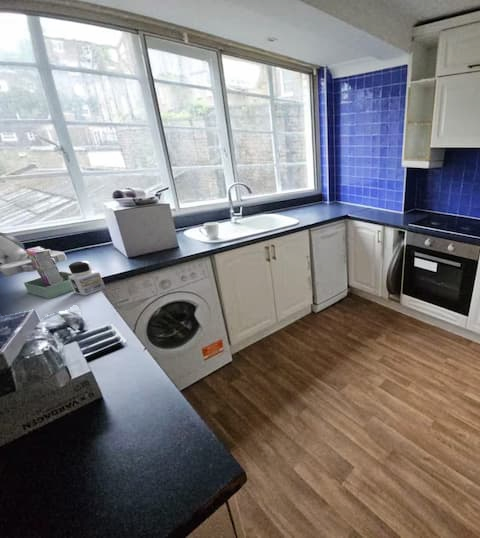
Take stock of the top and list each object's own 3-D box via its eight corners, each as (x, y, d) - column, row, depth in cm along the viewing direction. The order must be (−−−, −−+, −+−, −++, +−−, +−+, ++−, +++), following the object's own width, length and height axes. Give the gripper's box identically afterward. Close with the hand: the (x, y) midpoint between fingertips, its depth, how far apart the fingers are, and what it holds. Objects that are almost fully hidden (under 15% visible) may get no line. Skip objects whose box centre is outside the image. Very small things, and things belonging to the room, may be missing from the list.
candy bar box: (43, 284, 129) (23, 249, 122) (58, 279, 133) (40, 245, 126) (51, 290, 123) (31, 253, 116) (67, 285, 127) (48, 249, 120)
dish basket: (49, 298, 121) (44, 288, 119) (28, 292, 126) (23, 282, 124) (86, 285, 132) (82, 275, 130) (66, 280, 138) (61, 271, 136)
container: (85, 295, 122) (72, 267, 117) (74, 293, 125) (61, 264, 120) (106, 287, 129) (94, 260, 124) (95, 285, 131) (83, 258, 126)
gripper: (-11, 263, 120) (6, 267, 115) (53, 247, 137) (70, 250, 132) (-3, 277, 122) (14, 281, 117) (58, 260, 140) (75, 263, 135)
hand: (44, 265), depth 125 cm, fingers closed on candy bar box, 5 cm apart
